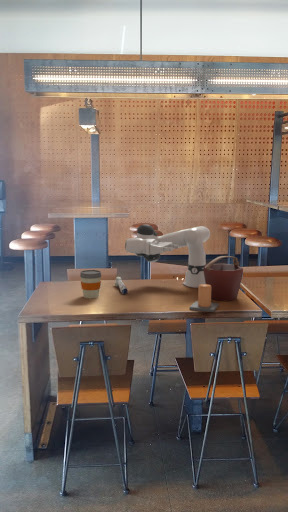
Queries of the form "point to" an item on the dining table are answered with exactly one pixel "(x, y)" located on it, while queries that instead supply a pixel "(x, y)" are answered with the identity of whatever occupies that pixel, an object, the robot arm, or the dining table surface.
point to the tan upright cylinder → (204, 295)
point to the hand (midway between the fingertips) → (175, 248)
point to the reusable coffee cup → (90, 283)
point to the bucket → (223, 279)
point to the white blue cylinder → (121, 285)
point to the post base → (207, 309)
